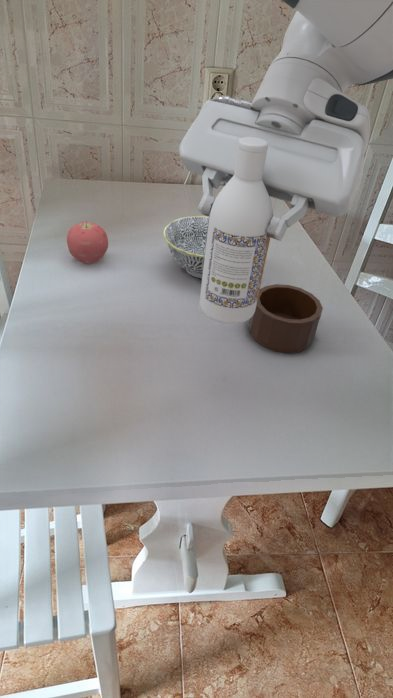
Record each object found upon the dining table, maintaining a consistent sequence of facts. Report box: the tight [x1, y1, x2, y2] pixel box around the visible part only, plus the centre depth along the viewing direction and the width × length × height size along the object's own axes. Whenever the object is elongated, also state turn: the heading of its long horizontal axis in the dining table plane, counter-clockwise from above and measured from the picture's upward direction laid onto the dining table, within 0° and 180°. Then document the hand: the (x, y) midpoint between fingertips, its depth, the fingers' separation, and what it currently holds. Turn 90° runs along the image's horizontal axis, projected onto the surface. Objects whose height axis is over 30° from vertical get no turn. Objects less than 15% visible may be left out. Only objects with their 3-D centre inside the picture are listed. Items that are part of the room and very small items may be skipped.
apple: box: [66, 220, 109, 265], centre depth 91 cm, size 7×7×8 cm
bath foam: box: [199, 137, 274, 325], centre depth 54 cm, size 7×7×20 cm
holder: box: [248, 283, 324, 354], centre depth 79 cm, size 11×11×6 cm
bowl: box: [163, 215, 209, 279], centre depth 92 cm, size 16×16×8 cm
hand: (238, 225), depth 53 cm, fingers closed on bath foam, 7 cm apart
